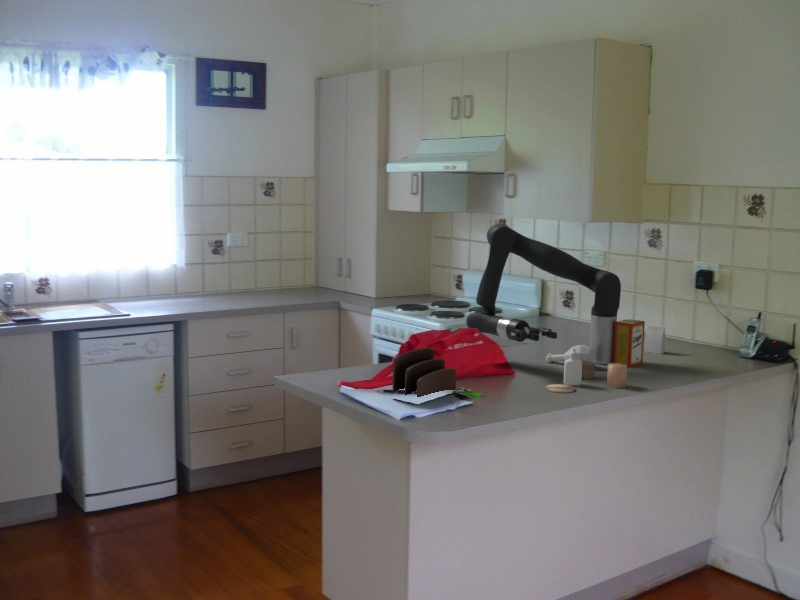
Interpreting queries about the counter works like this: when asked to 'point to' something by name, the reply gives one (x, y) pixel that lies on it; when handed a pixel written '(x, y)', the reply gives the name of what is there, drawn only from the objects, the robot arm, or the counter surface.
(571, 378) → the eye dropper bottle
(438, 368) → the letter holder
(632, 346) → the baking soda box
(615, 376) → the domed peg
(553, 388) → the cork coaster
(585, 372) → the walnut block
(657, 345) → the white paper bag
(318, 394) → the counter surface
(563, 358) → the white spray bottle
